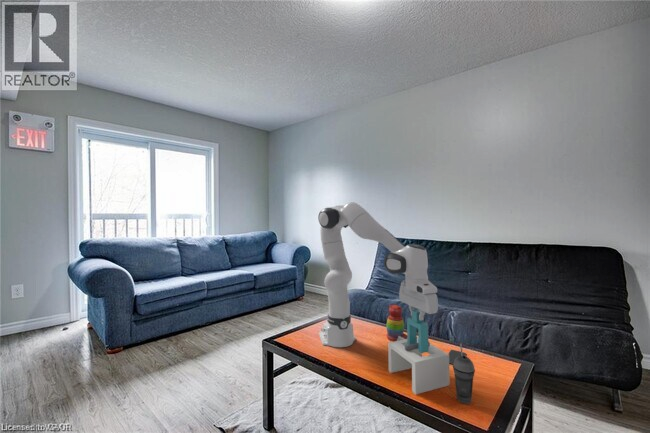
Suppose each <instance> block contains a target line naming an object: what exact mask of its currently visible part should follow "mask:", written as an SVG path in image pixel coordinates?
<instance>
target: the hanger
mask: <svg viewBox="0 0 650 433" xmlns="http://www.w3.org/2000/svg"><path fill="white" fill-rule="evenodd" d="M419 314H420V312H419V309H415V310H412V316H410V317H406V335H407V344H408V345H411V344H416V343H417V337H418V349H419V352H420V353H422V354H424V353H427V352H429V344H428V342H429V323H427V322H425V321H424V320H422V321H420V320H418V315H419ZM417 331H418V332H417Z"/></svg>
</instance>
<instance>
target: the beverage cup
mask: <svg viewBox="0 0 650 433" xmlns="http://www.w3.org/2000/svg"><path fill="white" fill-rule="evenodd" d="M459 347H460V352H461V356H458V357H457V358H456V359H455V360H454V362H453V365H452V368H453V373H454V383H455V392H456V400H457V401H458V403H461V404H463V405H464V404H465V405H469V404H471V402H472V396H473V388H474V387H473V384H474V376H475V372H476V368H475V364H474V362H473V361H472V360H471V359H470V358H469V357H468V356H467V355H466V356H463V353H462V352H463V345H462V342H460V343H459Z"/></svg>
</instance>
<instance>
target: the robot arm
mask: <svg viewBox="0 0 650 433" xmlns="http://www.w3.org/2000/svg"><path fill="white" fill-rule="evenodd" d="M318 222H319V224H320V241H321V248H322V252H323V258H324V260H325V261H326V264H327V265H328V268H329V272H328V273H326V274H325V277H324V281H323V283H324V287H325V288H326V293H327V299H328V313H327V320H326V321H325V322H324V323H323V324H322V327H321V328H320V329H321V330H320V331H319V332H318V336H319V339H320V341H321V344H322V346H328V347H333V348H347V347H349V346H352V345H353V343H354V342H355V341H356V340H357V337H356V336H355V335H354V326H353V323H352V317H351V314H350V313H351V310H350V308H351V304H350V303H351V302H350V301H351V300H350V299H349V295H348V294H349V293H348V284H350V283H351V281H352V278H353V273H352V270H351V267H350V265H349V262H348V259H347V256H346V251H345V247H344V242H343V237H342V234H341V232H342V230H343V228H345V229H346V228H348V227H349V228H350V229H351V230H352V232H353V233H354V234H355V235H356V236H358V237H360V238H361V239H364V240H370V241H375V242H378V243H380V244H381V245H383V246H384V247H385V248H386V249H387V250H388V251H390V252H388V253H387V254H386V255H384V259H383V266H384V268H385V270H386V272H388V273H389V274H392V275H398V274H399V275H400V274H404V275H405V276H404V277H405V280H402V281H401V283H400V287H399V292H398V293H399V294H398V297H399V301H400V302H401V303H404V304H405V305H408V309H409V311H410V317H412V310H419V312H420V314H419V315H418V320H420V321H422V320H423V321H424V320H425V319H424V318H425V317H424V316H425V314H428V315H433V314H437V313H438V311H439V300H438V295H437V294H436V293H438V287H437V286H436V285H435V284H433V283H432V282H431V281H430V280H429V276H428V275H429V274H428V268H429V263H428V262H429V261H428V252H427V249H426V248H425V247H424V246H422V245H420V244H414V243H410V244H407V245H406V246H405V244H403V243H402V242H401V241H400V240H399V239H397V238H396V236H394V235H393V234H392V233H391V232H390V231H388V229H386V228H385V227H384V226H382V225H381V224H380V223H379V222H378V221H377V220H376V219H375V218H374V217H373V216H372V215H371V214H370V213H369V212H368V211H367V210H366V209H365V208H364V207H363V206H361V205H360V204H358V203H357V202H354V201H351V202H348V203H346V204H345V205H341V204H340V205H335V206H330V207H326V208H323V209H321V210H319V213H318Z"/></svg>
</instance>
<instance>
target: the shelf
mask: <svg viewBox="0 0 650 433" xmlns="http://www.w3.org/2000/svg"><path fill="white" fill-rule="evenodd" d="M428 344H429V352H426V353H427V354H429V355H424V356H423V353H420V352H419V349H418V336H417V343H416V344H411V345H408V344H407V339H405V340H400V341H395V342H394V341H391V342H390V341H389V342H388V343H387V345H388V347H387V348H388V349H387V351H388V352H387V354H388V372H389V373H390V374H393V373H397V372H398V373H399V372H402V371H406V370H410V369H411V392H412V393H413V394H414V395H419V394H423V393H426V392H430V391H433V390H437V389H440V388H445V387H448V386H450V364H449V353H447V352H446V351H444V350H443V349H440V347H437V346H435V345H433V344H432V343H431V342H430V341H428Z"/></svg>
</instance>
